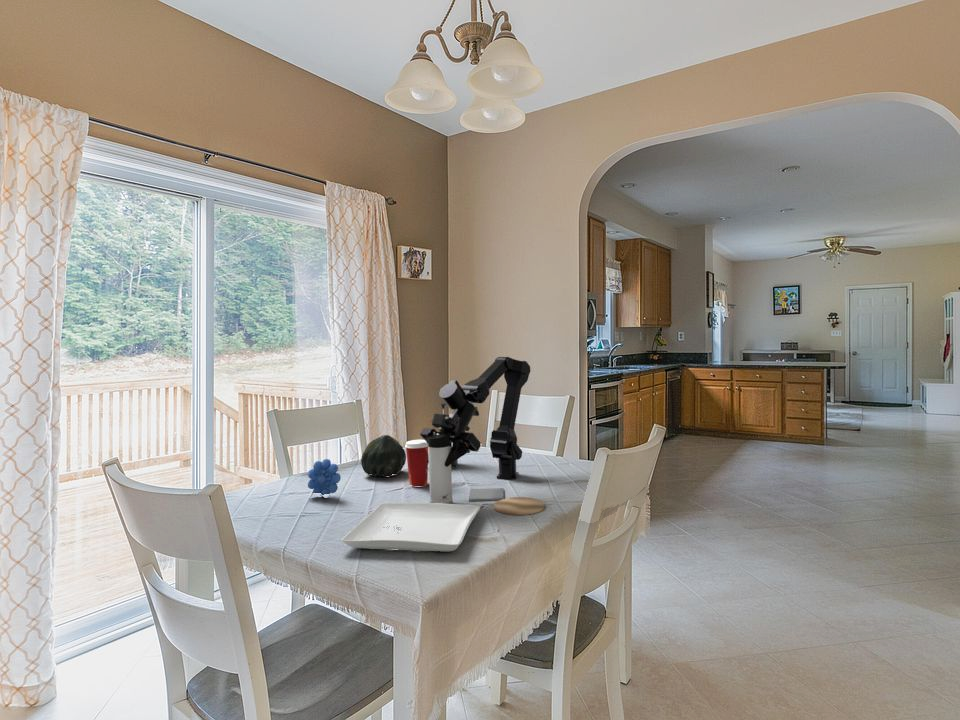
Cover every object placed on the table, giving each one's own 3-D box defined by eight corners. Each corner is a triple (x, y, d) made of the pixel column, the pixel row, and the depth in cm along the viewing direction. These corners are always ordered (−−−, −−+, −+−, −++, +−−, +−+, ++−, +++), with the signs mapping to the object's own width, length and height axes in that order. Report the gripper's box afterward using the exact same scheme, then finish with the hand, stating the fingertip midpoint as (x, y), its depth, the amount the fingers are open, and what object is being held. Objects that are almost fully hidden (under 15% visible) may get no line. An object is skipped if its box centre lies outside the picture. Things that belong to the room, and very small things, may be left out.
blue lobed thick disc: (349, 495, 162) (347, 456, 161) (336, 502, 156) (334, 461, 155) (318, 492, 166) (316, 454, 165) (303, 499, 160) (301, 459, 159)
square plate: (460, 561, 113) (459, 543, 113) (339, 556, 118) (338, 539, 117) (482, 517, 140) (481, 502, 139) (382, 514, 144) (382, 500, 144)
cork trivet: (498, 497, 154) (498, 496, 154) (547, 499, 151) (547, 497, 151) (489, 514, 140) (489, 512, 140) (542, 516, 137) (542, 514, 137)
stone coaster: (470, 490, 162) (470, 488, 162) (503, 489, 161) (503, 488, 161) (468, 501, 152) (468, 499, 152) (503, 500, 151) (503, 498, 151)
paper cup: (435, 484, 170) (433, 440, 170) (417, 489, 165) (415, 445, 164) (419, 480, 176) (417, 438, 175) (401, 485, 170) (399, 442, 170)
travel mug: (450, 508, 146) (447, 436, 145) (427, 507, 148) (424, 435, 146) (456, 500, 152) (453, 431, 151) (433, 500, 154) (431, 431, 153)
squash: (367, 453, 194) (361, 428, 183) (408, 453, 194) (405, 427, 184) (362, 487, 184) (356, 462, 173) (405, 487, 184) (402, 462, 174)
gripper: (423, 400, 157) (397, 444, 149) (472, 404, 146) (448, 451, 138) (441, 423, 164) (418, 466, 156) (490, 427, 153) (468, 474, 145)
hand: (436, 464), depth 148 cm, fingers closed on travel mug, 6 cm apart
